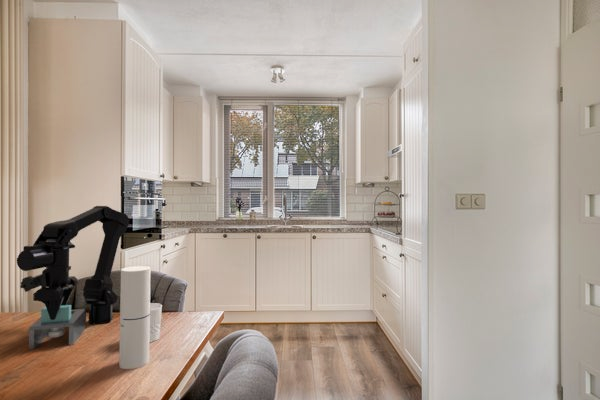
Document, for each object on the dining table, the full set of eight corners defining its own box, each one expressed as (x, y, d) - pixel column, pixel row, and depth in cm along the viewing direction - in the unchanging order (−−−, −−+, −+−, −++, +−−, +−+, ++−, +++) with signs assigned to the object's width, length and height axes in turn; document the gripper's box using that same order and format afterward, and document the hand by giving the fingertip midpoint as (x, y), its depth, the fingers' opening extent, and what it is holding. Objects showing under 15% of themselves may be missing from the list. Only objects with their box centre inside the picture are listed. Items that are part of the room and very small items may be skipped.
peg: (71, 331, 106) (72, 304, 106) (67, 336, 102) (68, 307, 102) (44, 334, 103) (45, 306, 103) (39, 339, 99) (40, 310, 100)
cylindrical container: (137, 370, 86) (138, 272, 86) (112, 367, 87) (114, 270, 87) (154, 358, 93) (156, 266, 93) (131, 355, 94) (133, 265, 94)
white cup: (128, 340, 104) (128, 308, 104) (150, 332, 111) (150, 301, 111) (145, 346, 100) (146, 312, 100) (167, 336, 107) (167, 305, 107)
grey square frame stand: (46, 331, 110) (47, 311, 110) (85, 328, 114) (86, 308, 114) (28, 349, 97) (29, 326, 97) (73, 344, 101) (73, 322, 101)
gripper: (37, 260, 109) (37, 309, 109) (10, 272, 91) (9, 330, 91) (78, 259, 113) (77, 306, 112) (59, 269, 95) (58, 325, 95)
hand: (56, 315), depth 103 cm, fingers open, 6 cm apart
